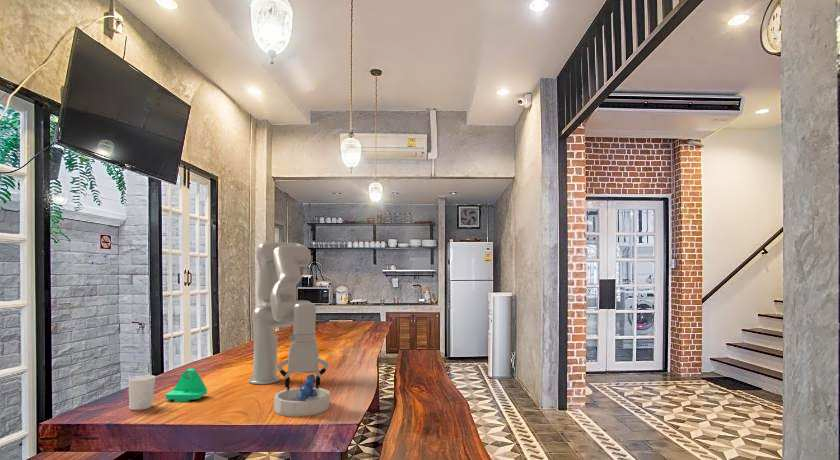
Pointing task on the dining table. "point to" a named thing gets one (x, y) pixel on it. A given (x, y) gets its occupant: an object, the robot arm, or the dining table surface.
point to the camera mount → (188, 387)
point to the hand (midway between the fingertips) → (302, 388)
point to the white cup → (141, 392)
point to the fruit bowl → (301, 403)
